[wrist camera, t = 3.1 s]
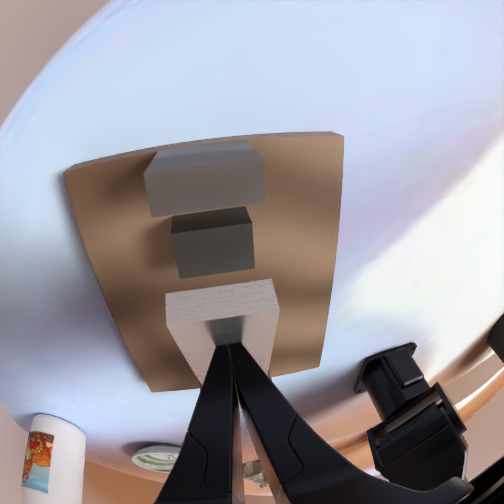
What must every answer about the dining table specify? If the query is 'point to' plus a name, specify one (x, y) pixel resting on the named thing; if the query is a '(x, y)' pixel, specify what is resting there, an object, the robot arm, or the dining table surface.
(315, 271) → the base
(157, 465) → the saucer
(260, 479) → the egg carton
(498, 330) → the mug
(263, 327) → the bar
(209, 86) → the dining table surface
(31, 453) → the milk bottle
